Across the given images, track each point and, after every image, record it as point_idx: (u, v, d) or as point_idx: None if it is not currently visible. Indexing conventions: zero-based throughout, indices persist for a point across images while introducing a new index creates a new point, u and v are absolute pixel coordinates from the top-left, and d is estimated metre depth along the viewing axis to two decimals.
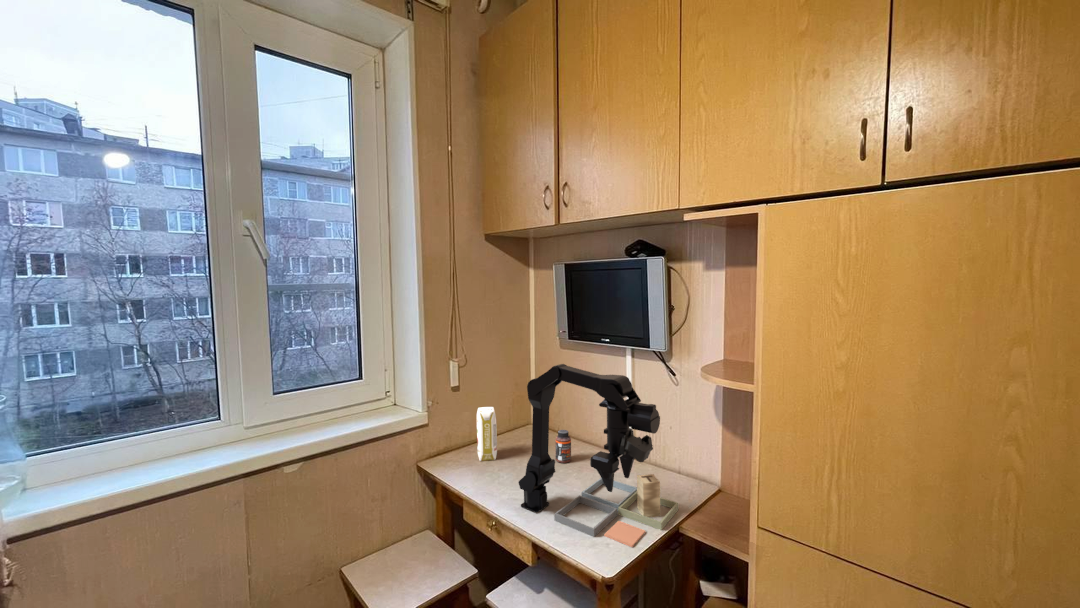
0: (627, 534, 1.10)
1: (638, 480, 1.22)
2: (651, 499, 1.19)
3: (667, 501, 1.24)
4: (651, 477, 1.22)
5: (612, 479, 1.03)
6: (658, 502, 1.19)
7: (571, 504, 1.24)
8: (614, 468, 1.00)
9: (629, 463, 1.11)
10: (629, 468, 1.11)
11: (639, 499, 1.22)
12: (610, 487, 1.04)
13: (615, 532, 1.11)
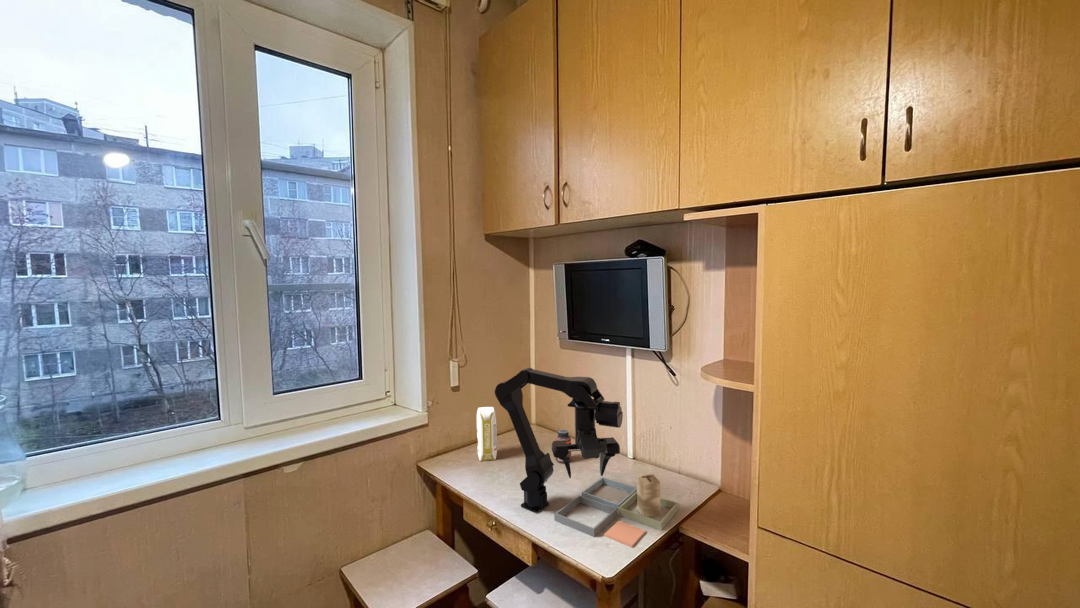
0: (627, 534, 1.10)
1: (638, 480, 1.22)
2: (651, 499, 1.19)
3: (667, 501, 1.24)
4: (651, 477, 1.22)
5: (567, 466, 1.17)
6: (658, 502, 1.19)
7: (571, 504, 1.24)
8: (560, 455, 1.14)
9: (602, 462, 1.18)
10: (602, 467, 1.18)
11: (639, 499, 1.22)
12: (568, 473, 1.18)
13: (615, 532, 1.11)
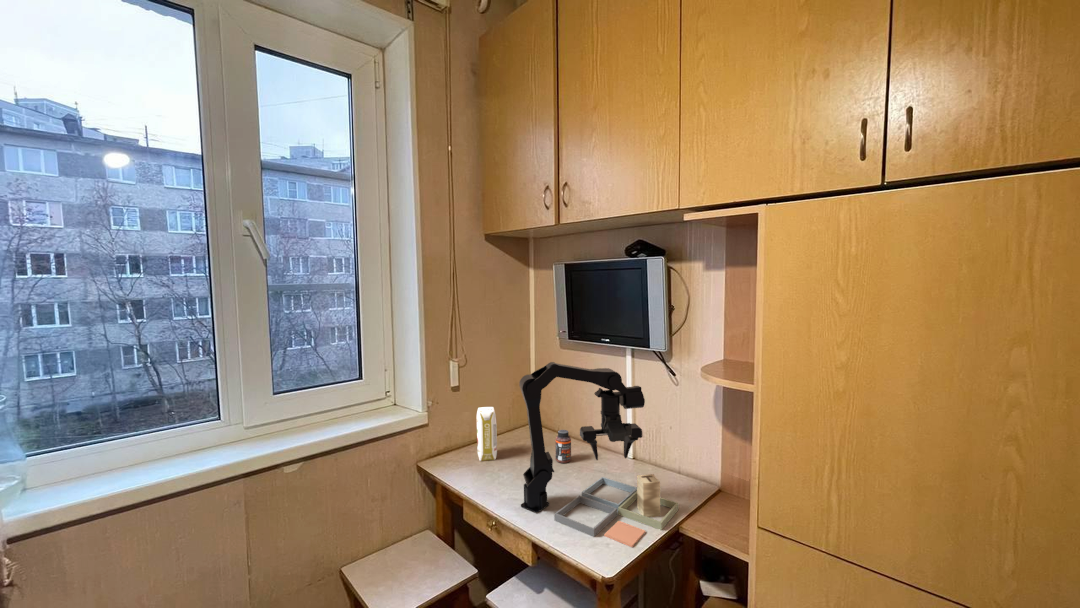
0: (627, 534, 1.10)
1: (638, 480, 1.22)
2: (651, 499, 1.19)
3: (667, 501, 1.24)
4: (651, 477, 1.22)
5: (594, 449, 1.28)
6: (658, 502, 1.19)
7: (571, 504, 1.24)
8: (588, 439, 1.26)
9: (626, 446, 1.30)
10: (626, 450, 1.30)
11: (639, 499, 1.22)
12: (595, 456, 1.29)
13: (615, 532, 1.11)
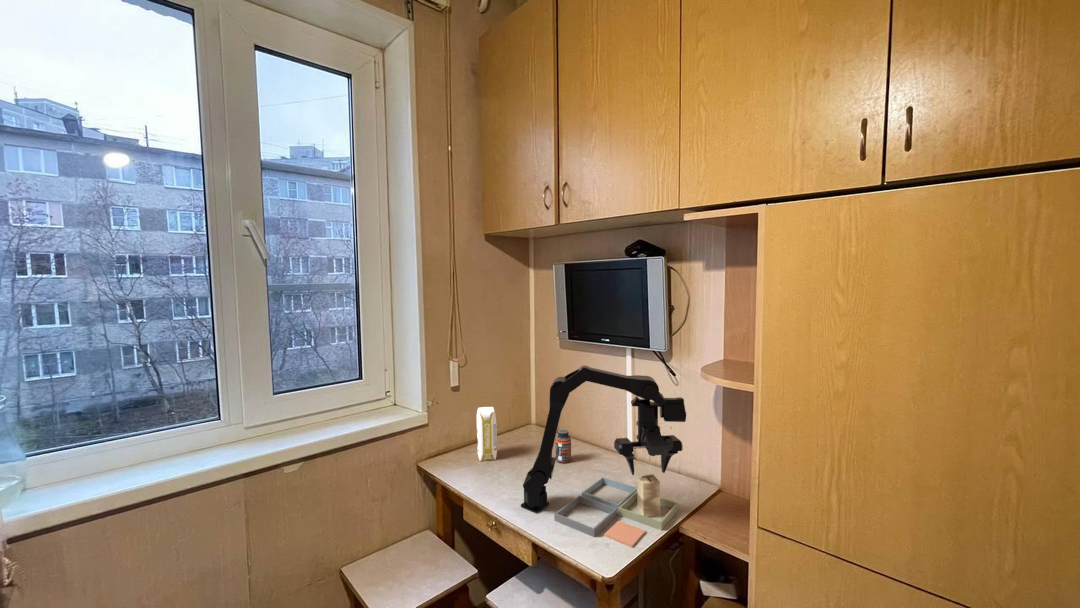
0: (627, 534, 1.10)
1: (638, 480, 1.22)
2: (651, 499, 1.19)
3: (667, 501, 1.24)
4: (651, 477, 1.22)
5: (631, 463, 1.19)
6: (658, 502, 1.19)
7: (571, 504, 1.24)
8: (625, 452, 1.17)
9: (664, 459, 1.21)
10: (664, 464, 1.21)
11: (639, 499, 1.22)
12: (631, 470, 1.20)
13: (615, 532, 1.11)
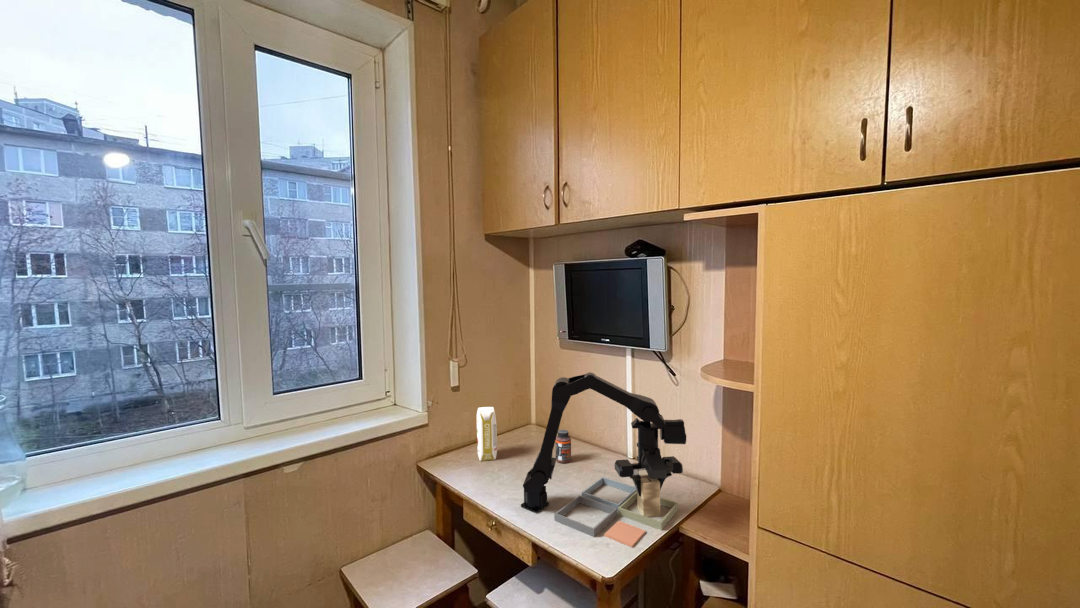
0: (627, 534, 1.10)
1: None
2: (651, 499, 1.19)
3: (667, 501, 1.24)
4: None
5: (638, 485, 1.20)
6: (658, 502, 1.19)
7: (571, 504, 1.24)
8: (625, 475, 1.17)
9: None
10: None
11: (639, 499, 1.22)
12: (638, 492, 1.21)
13: (615, 532, 1.11)
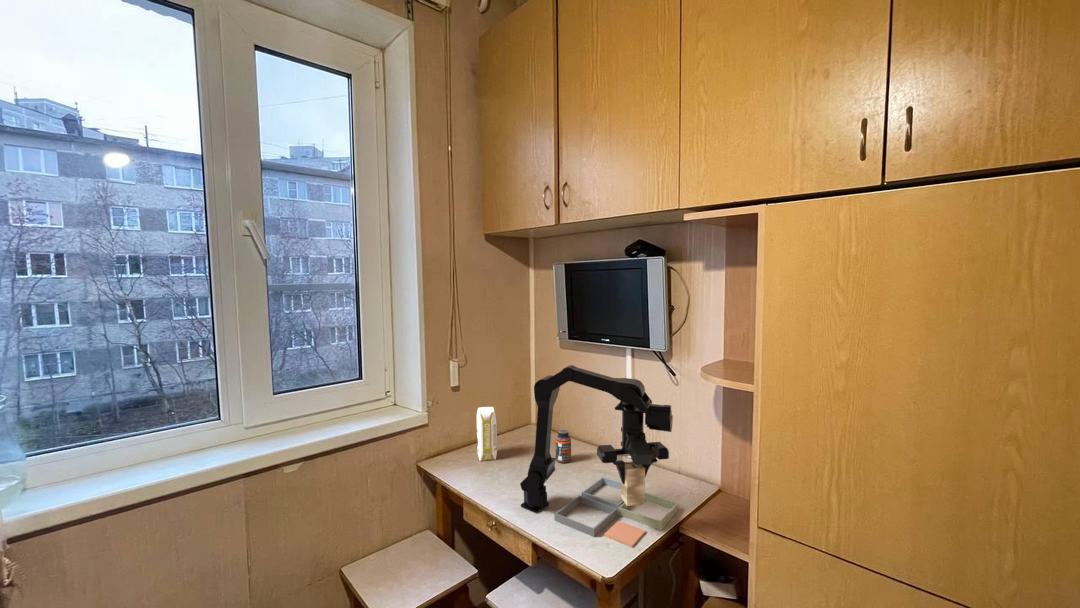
0: (627, 534, 1.10)
1: None
2: (635, 486, 1.12)
3: (667, 501, 1.24)
4: None
5: (621, 472, 1.12)
6: (643, 490, 1.12)
7: (571, 504, 1.24)
8: (608, 461, 1.10)
9: None
10: None
11: (623, 487, 1.14)
12: (621, 479, 1.13)
13: (615, 532, 1.11)
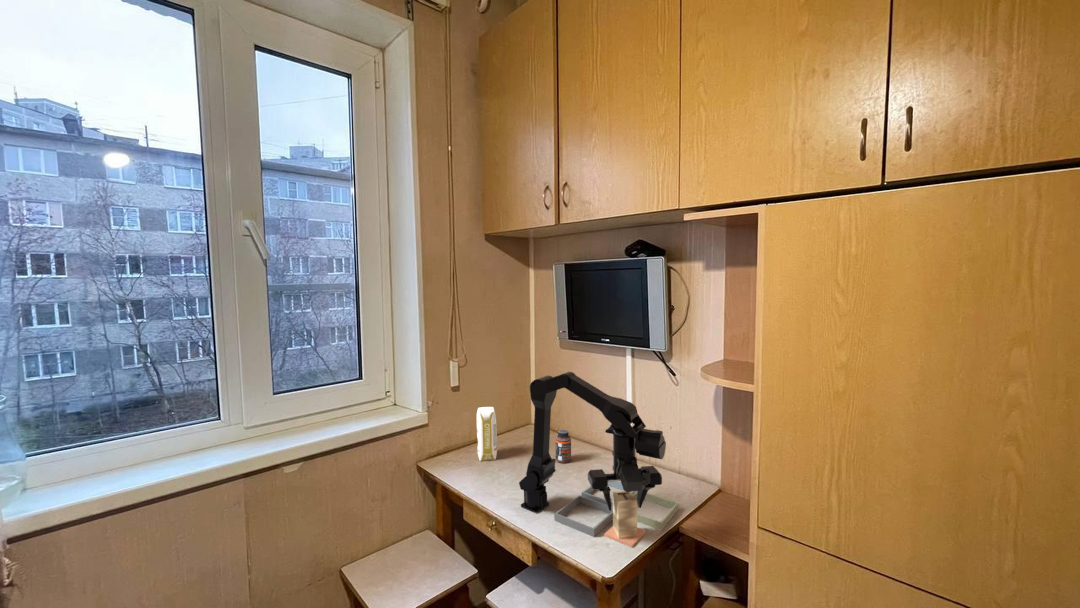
0: None
1: (613, 497, 1.12)
2: (627, 518, 1.08)
3: (667, 501, 1.24)
4: (628, 494, 1.11)
5: (607, 498, 1.09)
6: (635, 522, 1.09)
7: (571, 504, 1.24)
8: (598, 487, 1.06)
9: (641, 493, 1.10)
10: (640, 498, 1.10)
11: (615, 519, 1.11)
12: (607, 505, 1.10)
13: None
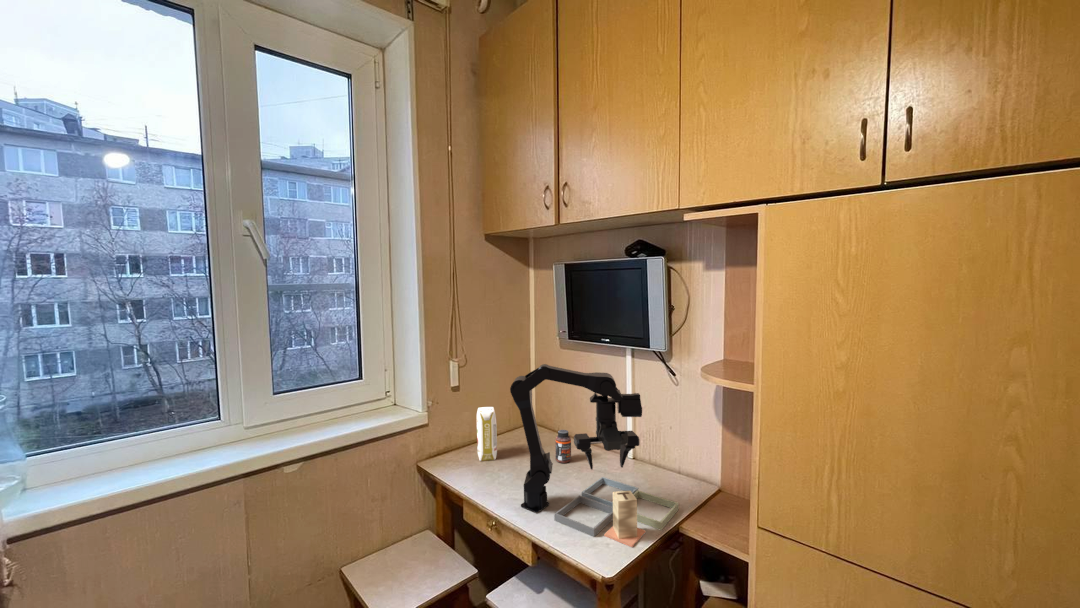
0: None
1: (613, 497, 1.12)
2: (627, 518, 1.08)
3: (667, 501, 1.24)
4: (628, 494, 1.11)
5: (589, 458, 1.22)
6: (635, 522, 1.09)
7: (571, 504, 1.24)
8: (582, 447, 1.20)
9: (622, 454, 1.24)
10: (622, 459, 1.24)
11: (615, 519, 1.11)
12: None
13: None
